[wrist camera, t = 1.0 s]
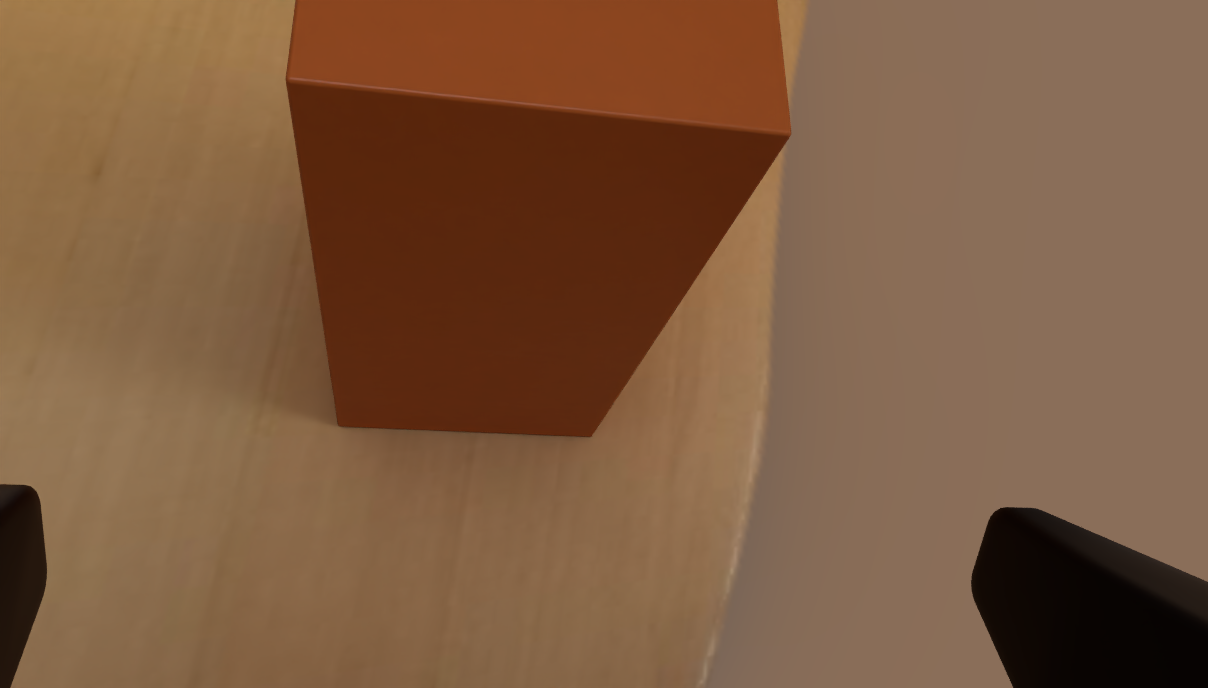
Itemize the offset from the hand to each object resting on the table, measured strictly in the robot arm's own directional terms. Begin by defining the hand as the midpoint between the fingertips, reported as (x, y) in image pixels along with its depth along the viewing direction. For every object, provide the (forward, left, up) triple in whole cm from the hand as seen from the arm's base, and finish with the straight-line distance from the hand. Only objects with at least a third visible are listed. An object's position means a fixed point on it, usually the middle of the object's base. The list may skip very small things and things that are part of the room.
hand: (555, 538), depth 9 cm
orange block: (+8, -1, -13) cm, 16 cm away
